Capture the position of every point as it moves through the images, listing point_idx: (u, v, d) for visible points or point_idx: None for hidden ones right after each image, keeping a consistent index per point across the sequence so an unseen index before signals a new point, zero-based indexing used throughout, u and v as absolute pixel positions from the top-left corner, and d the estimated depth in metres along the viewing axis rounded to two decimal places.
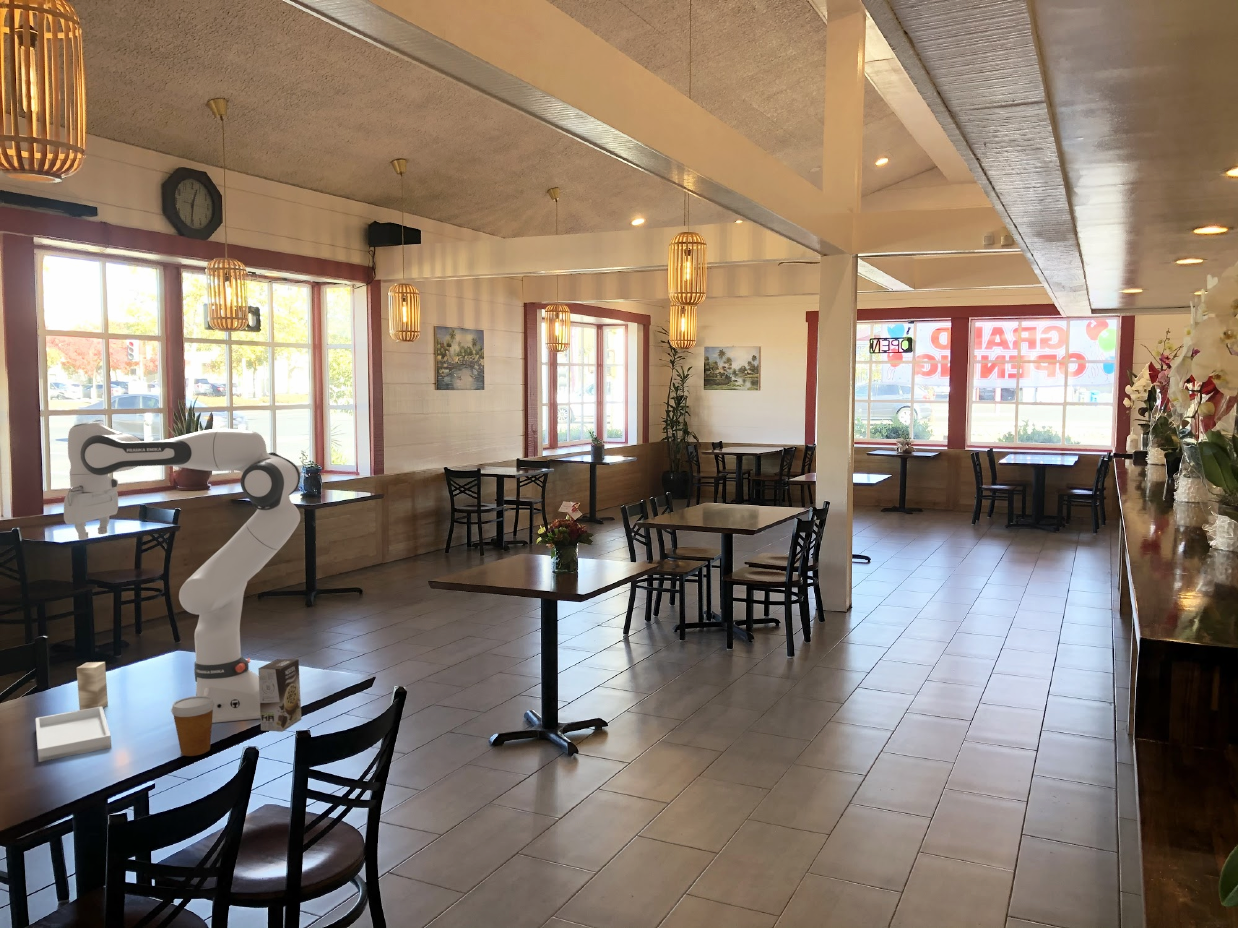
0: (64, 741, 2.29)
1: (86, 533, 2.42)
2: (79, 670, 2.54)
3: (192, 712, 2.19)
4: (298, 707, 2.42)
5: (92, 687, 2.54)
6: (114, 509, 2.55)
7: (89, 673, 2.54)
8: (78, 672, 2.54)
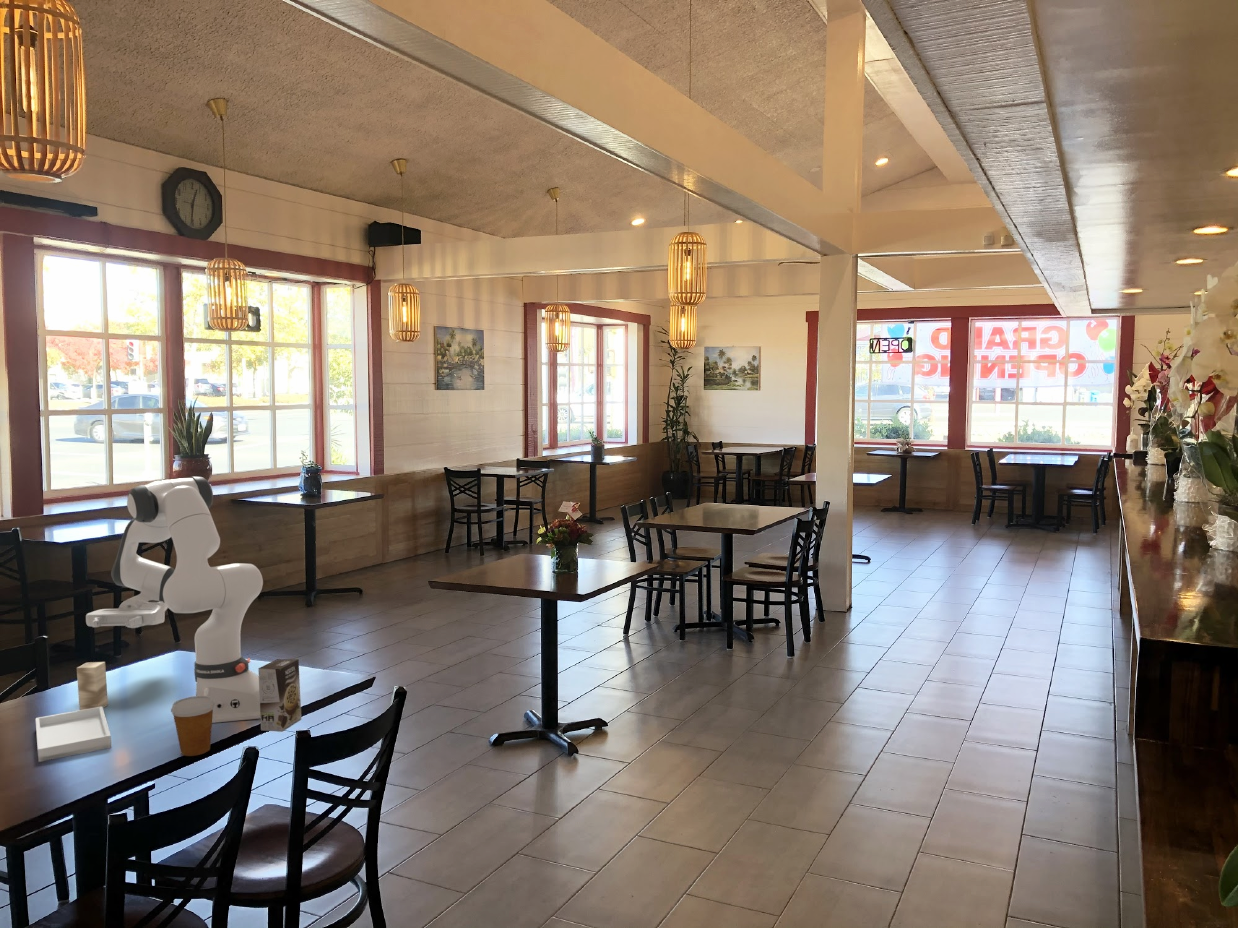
0: (64, 741, 2.29)
1: (97, 620, 2.69)
2: (79, 670, 2.54)
3: (192, 712, 2.19)
4: (298, 707, 2.42)
5: (92, 687, 2.54)
6: (149, 611, 2.73)
7: (89, 673, 2.54)
8: (78, 672, 2.54)
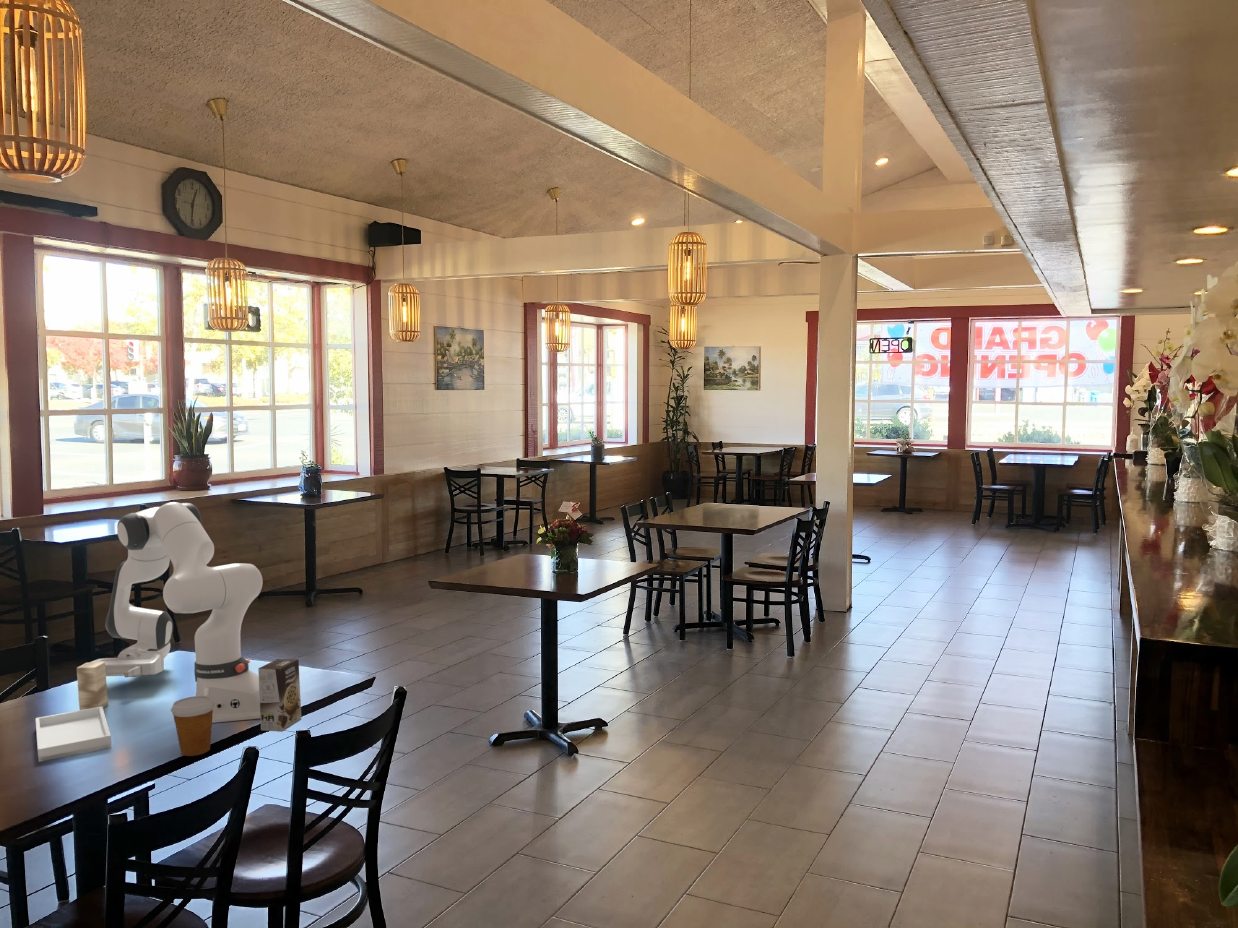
0: (64, 741, 2.29)
1: None
2: (79, 670, 2.54)
3: (192, 712, 2.19)
4: (298, 707, 2.42)
5: (92, 687, 2.54)
6: (148, 661, 2.71)
7: (89, 673, 2.54)
8: (78, 672, 2.54)
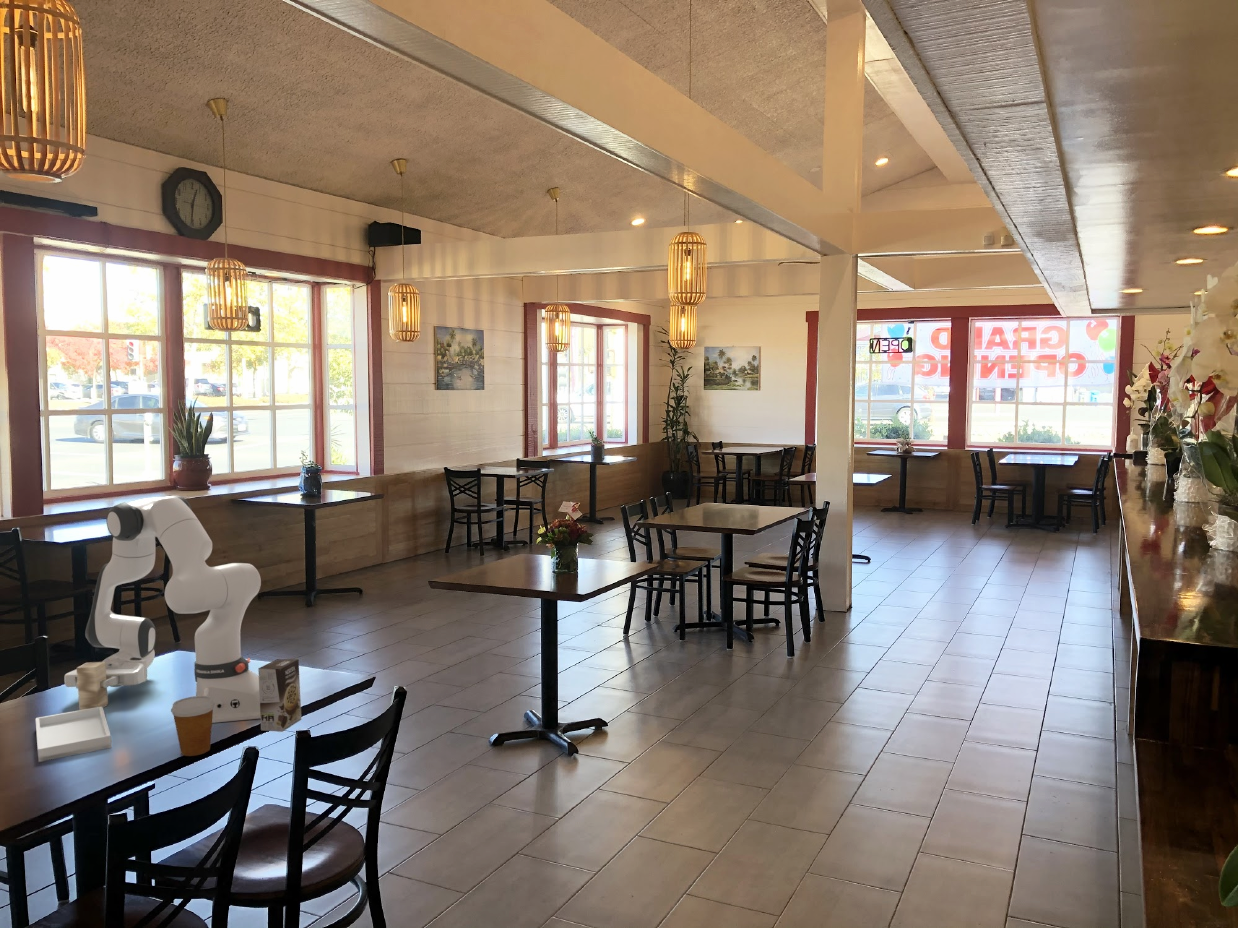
0: (64, 741, 2.29)
1: None
2: (79, 670, 2.54)
3: (192, 712, 2.19)
4: (298, 707, 2.42)
5: (92, 687, 2.54)
6: (130, 671, 2.62)
7: (89, 673, 2.54)
8: (78, 672, 2.54)
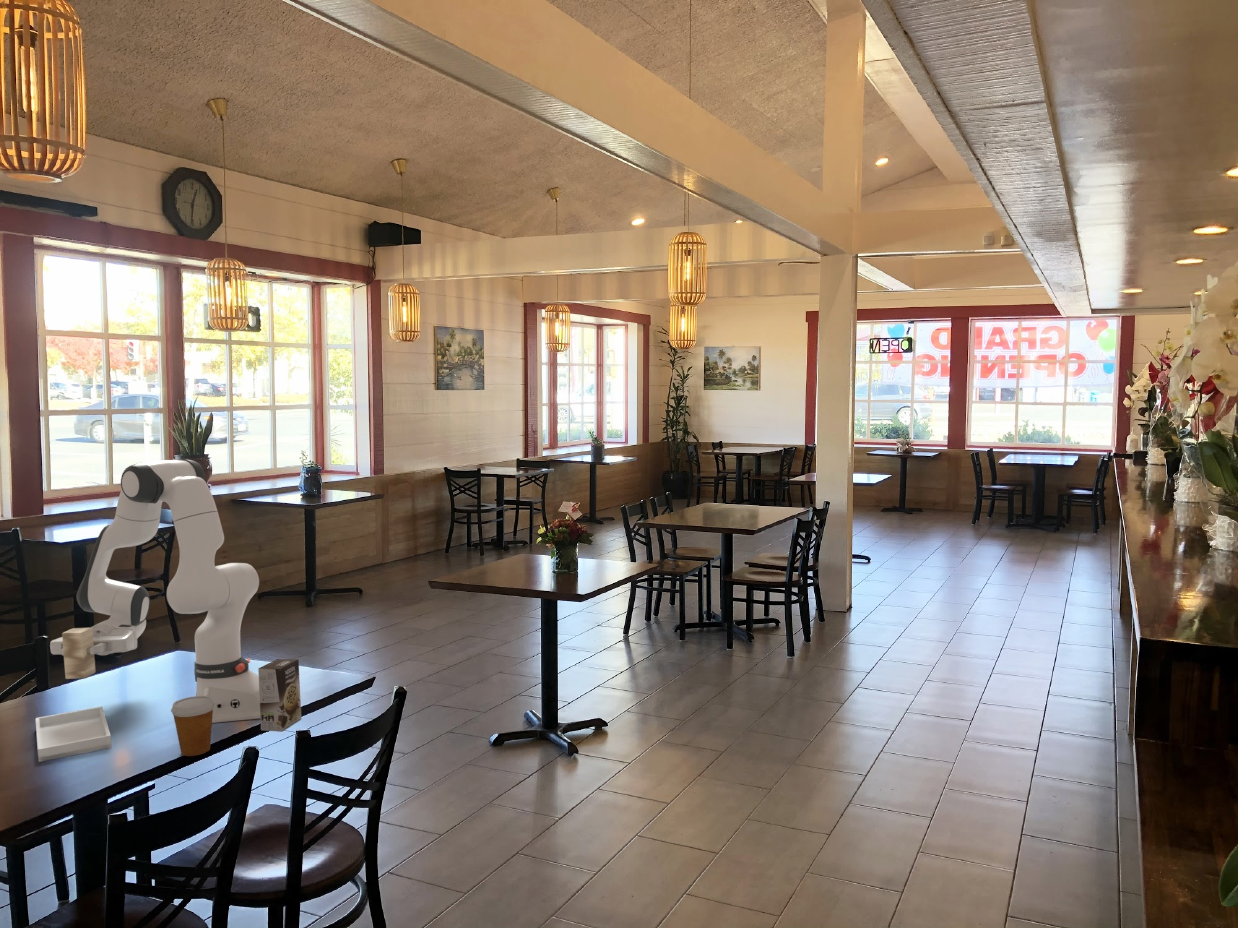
0: (64, 741, 2.29)
1: None
2: (65, 635, 2.42)
3: (192, 712, 2.19)
4: (298, 707, 2.42)
5: (78, 653, 2.43)
6: (119, 637, 2.50)
7: (75, 639, 2.42)
8: (64, 637, 2.42)
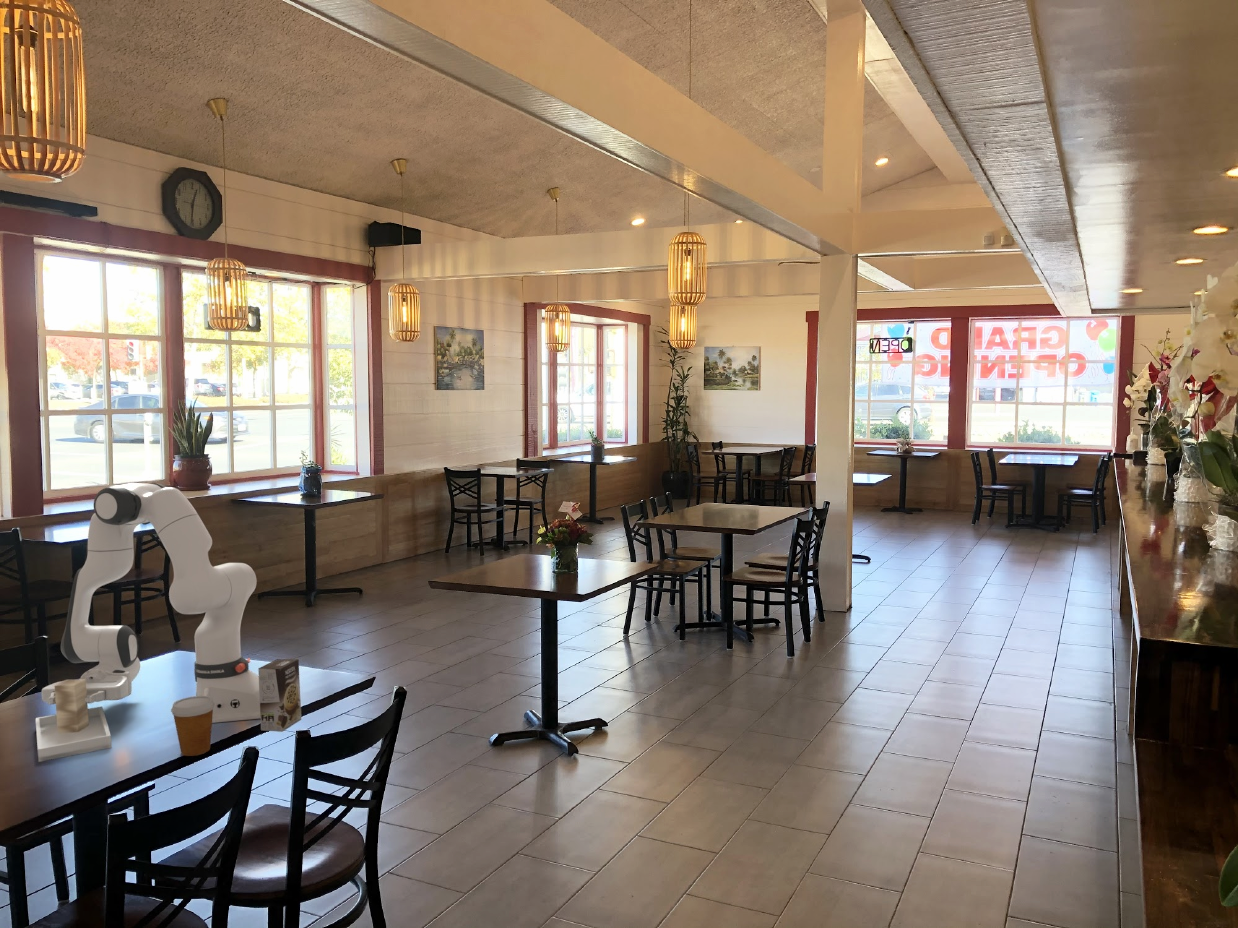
0: (64, 741, 2.29)
1: (53, 696, 2.38)
2: (57, 688, 2.35)
3: (192, 712, 2.19)
4: (298, 707, 2.42)
5: (71, 706, 2.35)
6: (113, 685, 2.43)
7: (68, 691, 2.35)
8: (56, 690, 2.35)
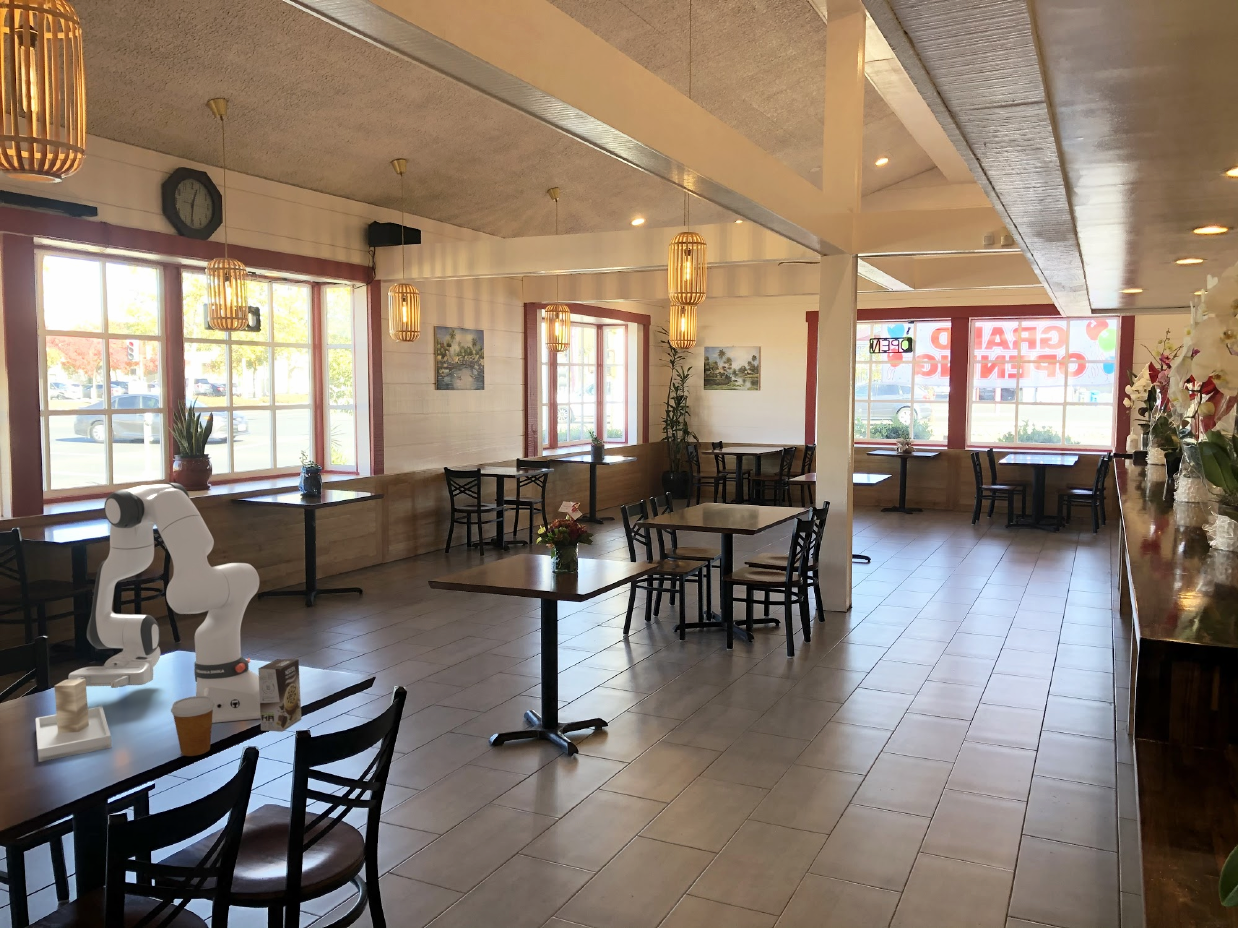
0: (64, 741, 2.29)
1: None
2: (57, 688, 2.35)
3: (192, 712, 2.19)
4: (298, 707, 2.42)
5: (71, 706, 2.35)
6: (136, 670, 2.55)
7: (68, 691, 2.35)
8: (56, 690, 2.35)
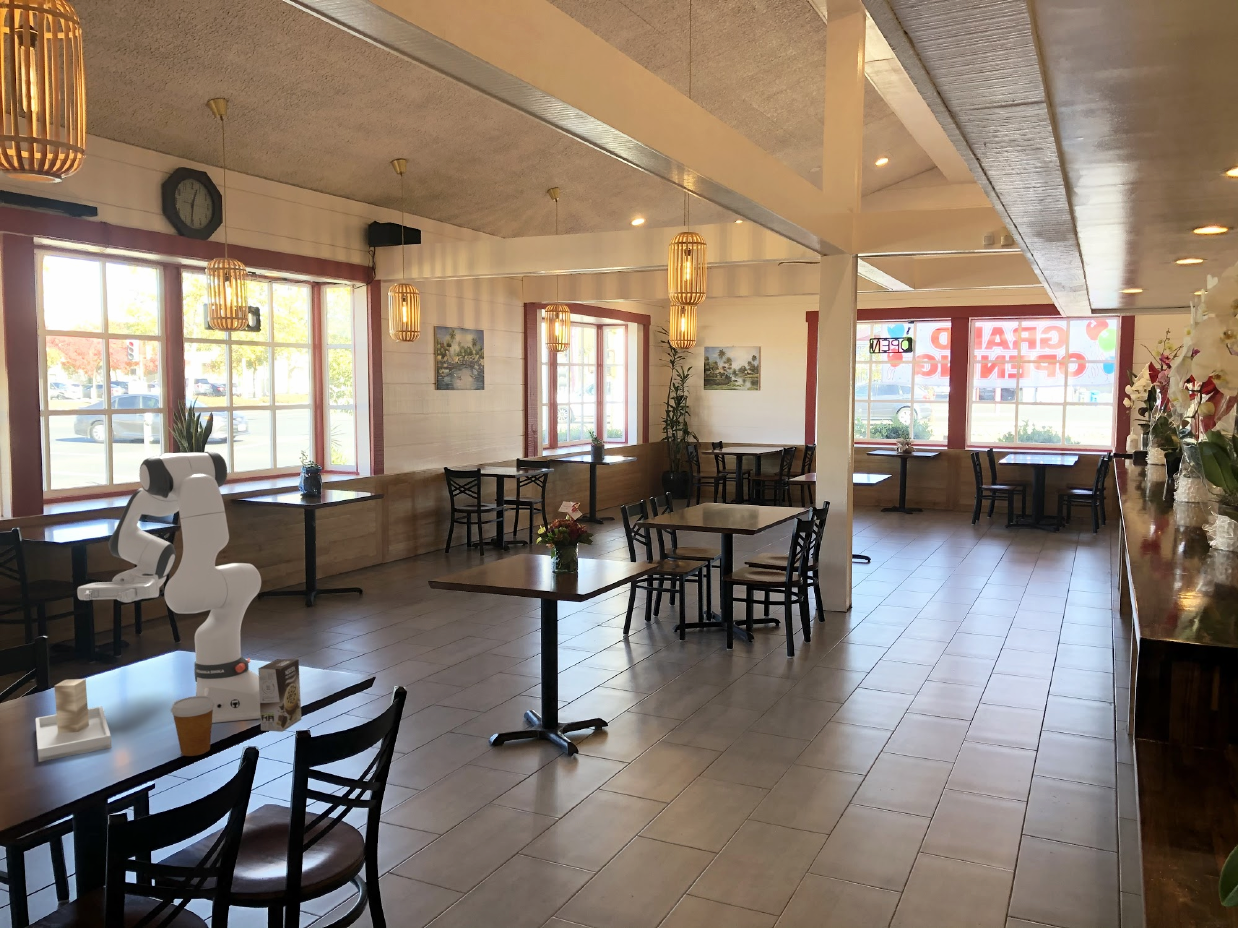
0: (64, 741, 2.29)
1: (88, 592, 2.59)
2: (57, 688, 2.35)
3: (192, 712, 2.19)
4: (298, 707, 2.42)
5: (71, 706, 2.35)
6: (143, 584, 2.64)
7: (68, 691, 2.35)
8: (56, 690, 2.35)
